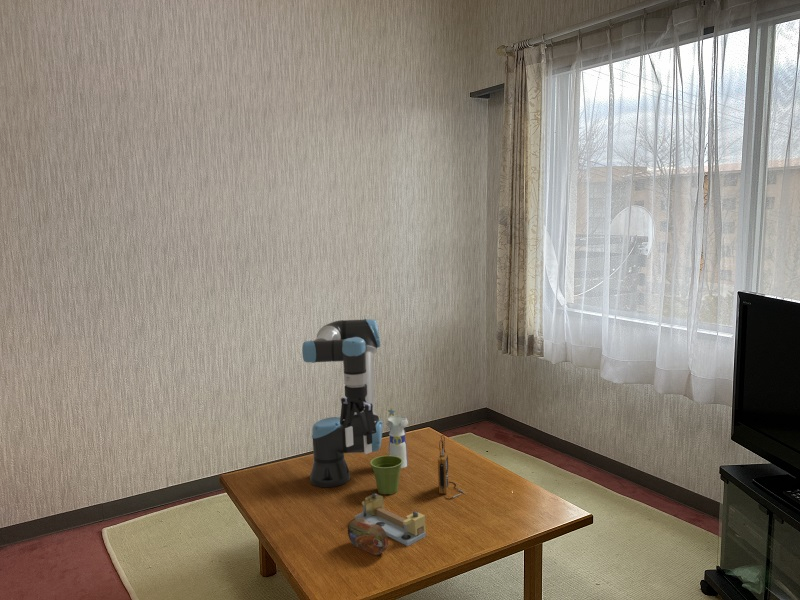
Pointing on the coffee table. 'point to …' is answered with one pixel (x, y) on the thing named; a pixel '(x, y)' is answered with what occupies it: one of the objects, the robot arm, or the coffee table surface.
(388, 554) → the coffee table surface
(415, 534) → the linear rail with blocks
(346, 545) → the coffee table surface
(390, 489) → the plant pot
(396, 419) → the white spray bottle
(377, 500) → the slider
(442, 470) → the multimeter
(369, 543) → the tin
